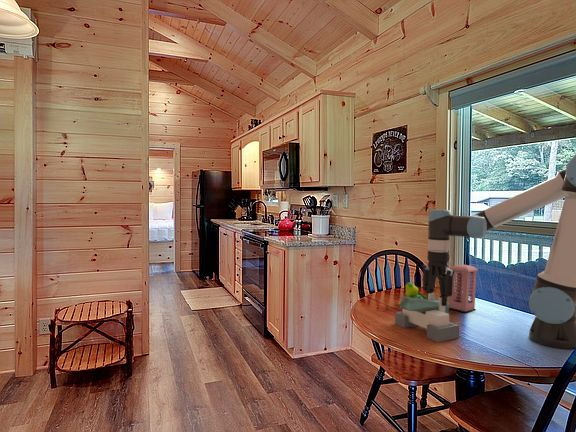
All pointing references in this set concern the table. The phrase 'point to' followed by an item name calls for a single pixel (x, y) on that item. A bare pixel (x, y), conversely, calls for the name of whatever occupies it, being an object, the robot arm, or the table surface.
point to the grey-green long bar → (421, 304)
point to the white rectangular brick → (428, 318)
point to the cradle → (430, 328)
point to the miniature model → (463, 288)
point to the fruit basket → (413, 291)
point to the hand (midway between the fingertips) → (436, 311)
